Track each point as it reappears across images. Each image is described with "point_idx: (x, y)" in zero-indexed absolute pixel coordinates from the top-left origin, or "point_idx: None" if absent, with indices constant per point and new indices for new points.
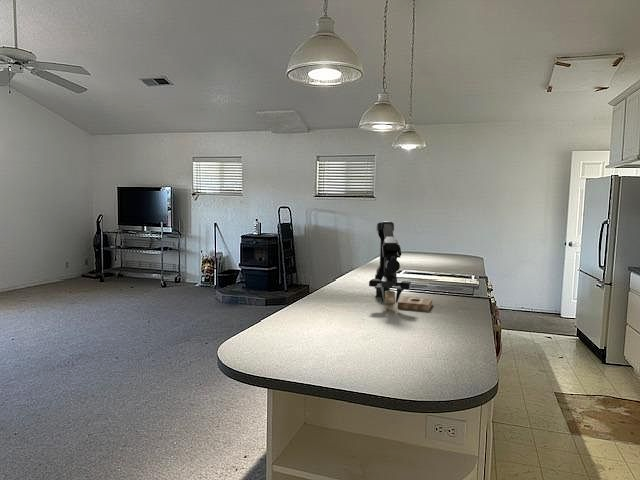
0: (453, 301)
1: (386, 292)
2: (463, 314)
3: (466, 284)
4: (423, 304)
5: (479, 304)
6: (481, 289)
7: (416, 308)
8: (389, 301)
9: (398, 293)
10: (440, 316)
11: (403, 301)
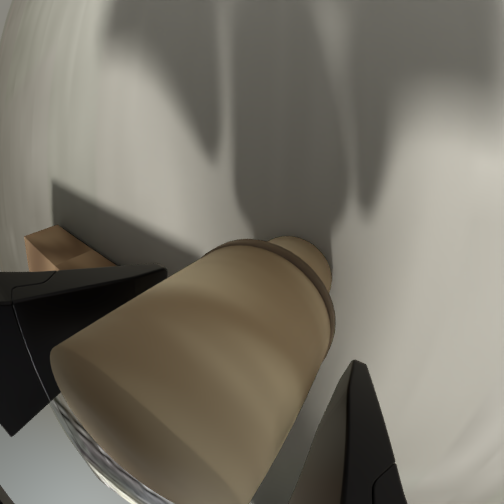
0: None
1: (188, 440)
2: (3, 189)
3: (100, 471)
4: (36, 247)
5: None
6: (67, 433)
7: (86, 255)
8: (239, 261)
9: (10, 284)
10: (31, 129)
11: None
